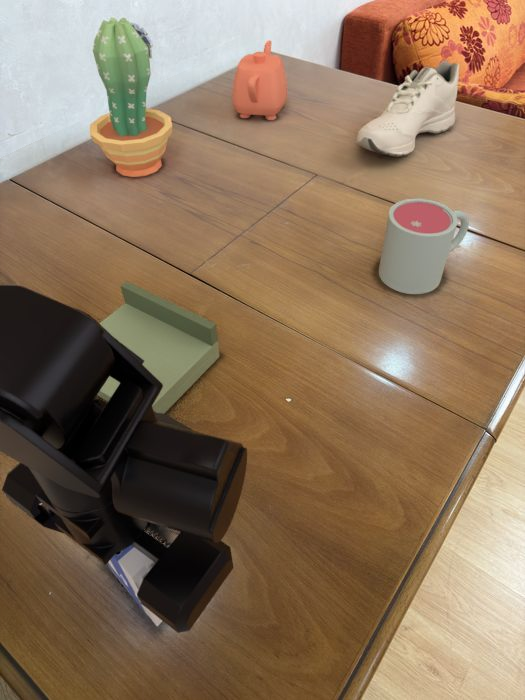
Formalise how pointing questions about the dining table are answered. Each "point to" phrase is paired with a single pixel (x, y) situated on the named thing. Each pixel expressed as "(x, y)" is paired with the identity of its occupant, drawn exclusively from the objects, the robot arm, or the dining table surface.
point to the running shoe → (414, 111)
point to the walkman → (132, 573)
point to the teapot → (260, 84)
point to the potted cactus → (128, 100)
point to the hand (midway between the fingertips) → (134, 565)
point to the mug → (419, 244)
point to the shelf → (162, 342)
